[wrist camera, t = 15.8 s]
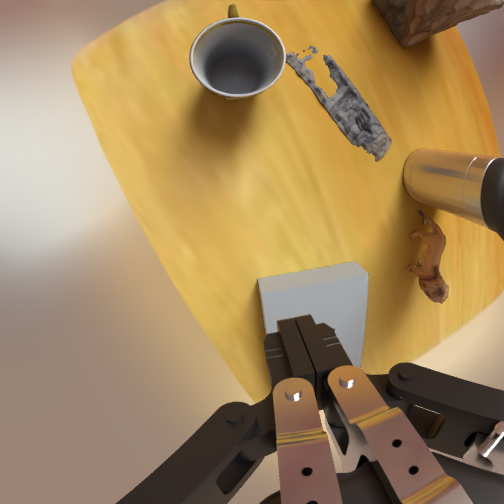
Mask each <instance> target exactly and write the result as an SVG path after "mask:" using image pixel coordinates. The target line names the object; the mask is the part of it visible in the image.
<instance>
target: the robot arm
mask: <svg viewBox="0 0 504 504" xmlns="http://www.w3.org/2000/svg"><path fill="white" fill-rule="evenodd" d="M403 178H404V184H405V187H406V190H407V192H408V194H409V195H410V196H411V197H412V198H413V199H414V200H416V201H418V202H421V203H423V204H426V205H429V206H432V207H434V208H437V209H440V210H443V211H445V212H448V213H451V214H453V215H456V216H459V217H461V218H464V219H466V220H469V221H471V222H474V223H476V224H479V225H481V226H484V227H486V228H488V229H491V230H492V231H495V232H497V233H498V235H499V236H500V237H501V238H502V239H503V241H504V158H499V157H493V156H486V155H478V154H471V153H463V152H454V151H443V150H433V149H418V150H416V151H414V152H413V153H412V154H411V155H410V156H409V157H408V159H407V161H406V163H405V167H404V175H403ZM277 330H278V332H274V333H269V334H267V335H266V337H265V340H264V348H265V354H266V361H267V367H268V372H269V377H270V382H271V387H272V390H271V392H270V394H269V395H268V396H267V397H266V398H265V399H264V400H262V401H260V402H258V403H256V404H254V405H251V406H250V405H248V404H246V403H243V402H231V403H227V404H225V405H223V406H221V407H220V408H219V409H218V410H217V411H216V412H215V413H214V414H213V415H212V416H211V417H210V418H209V419H208V420H207V421H206V422H205V423H204V424H203V425H202V426H201V427H200V428H199V429H198V430H197V431H196V432H195V433H194V434H193V435H192V436H191V437H190V438H189V439H188V440H187V441H186V442H185V443H184V444H183V445H182V446H181V447H180V448H179V449H178V450H177V451H176V452H175V453H173V454H172V455H171V456H170V457H169V458H168V459H167V460H166V461H165V462H164V463H163V464H161V465H160V466H159V467H158V468H157V469H156V470H155V471H154V472H153V473H151V474H150V475H149V476H148V477H147V478H146V479H145V480H144V481H142V482H141V483H140V484H139V485H138V486H136V487H135V488H134V489H133V490H132V491H131V492H129V493H128V494H127V495H126V496H125V497H123V498H122V499H121V500H120V501H118V502H117V503H116V504H227V503H228V502H229V501H230V500H231V498H232V497H233V496H234V495H235V494H236V493H237V492H238V491H239V489H240V488H241V487H242V486H243V484H244V483H245V482H246V481H247V480H248V478H249V477H250V476H251V475H252V473H253V472H254V471H255V470H256V468H257V467H258V466H259V465H260V463H261V462H262V461H263V459H264V457H265V456H267V455H269V454H272V453H274V452H276V451H277V456H278V467H279V480H280V490H279V491H277V492H275V493H273V494H271V495H270V496H268V497H267V498H265V499H264V500H263V501H262V502H260V503H259V504H504V391H503V390H499V389H495V388H491V387H488V386H484V385H481V384H477V383H474V382H470V381H467V380H463V379H460V378H457V377H453V376H450V375H447V374H443V373H440V372H437V371H434V370H431V369H428V368H425V367H421V366H418V365H416V364H412V363H399V364H397V365H395V366H393V367H392V368H391V369H390V371H389V374H382V375H369V374H365V373H364V372H363V371H362V370H361V369H360V368H358V367H355V366H353V364H352V362H351V361H350V359H349V357H348V355H347V353H346V352H345V350H344V348H343V346H342V344H341V343H340V341H339V339H338V337H337V336H336V334H335V332H334V330H333V328H331V327H330V326H328V325H327V324H325V323H320V324H316V323H315V321H314V319H313V317H312V315H311V314H308V315H303V316H298V317H294V318H288V319H282V320H277ZM415 405H417V406H420V407H423V408H425V409H423V408H420V407H417V406H415ZM426 409H428V410H431V411H428V410H426ZM319 410H324V413H325V425H326V428H327V430H328V432H329V434H330V436H331V439H332V441H333V443H334V445H335V447H336V449H337V452H338V454H339V456H340V458H341V461H342V467H343V472H344V473H336V471H335V466H334V461H333V457H332V453H331V448H330V444H329V440H328V436H327V434H326V432H324V431H323V428H322V423H321V419H320V415H319ZM432 411H434V412H437V413H440V414H437V413H434V412H432ZM429 448H431V449H435V450H437V451H440V452H443V453H446V454H449V455H452V456H455V457H459V458H462V459H463V460H464V463H463V462H460V461H457V460H454V459H451V458H449V457H446V456H443V455H441V454H438V453H435V452H431V451H430V450H429Z"/></svg>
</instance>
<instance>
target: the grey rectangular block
mask: <svg viewBox="0 0 504 504" xmlns="http://www.w3.org/2000/svg"><path fill="white" fill-rule="evenodd" d="M368 279H369V274H368V273H367V272H366V271H365V270H364V269H363V268H362V267H361V266H360V265H359V264H358V263H357V262H355V261H354V262H349V263H344V264H338V265H333V266H327V267H322V268H316V269H311V270H305V271H299V272H293V273H288V274H282V275H276V276H270V277H264V278H258V286H259V292H260V299H261V306H262V313H263V320H264V327H265V334H266V335H267V334H269V333H274V332H278V330H277V320H282V319H288V318H294V317H298V316H303V315H308V314H311V315H312V317H313V319H314V321H315V323H316V324H320V323H325V324H327V325H328V326H330V327H331V328H333V330H334V332H335V334H336V336H337V337H338V339H339V341H340V343H341V344H342V346H343V348H344V350H345V352H346V353H347V355H348V357H349V359H350V361H351V362H352V364H353V366H355V367H358V368H360V367H361V360H362V352H363V343H364V334H365V324H366V312H367V298H368Z"/></svg>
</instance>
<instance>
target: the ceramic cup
mask: <svg viewBox="0 0 504 504" xmlns="http://www.w3.org/2000/svg"><path fill="white" fill-rule="evenodd" d="M285 62H286V53H285V48H284V45H283V43H282V41H281V39H280V38H279V36H278V35H277V34H276V33H275V32H274V31H273V30H272V29H271V28H270V27H268V26H267V25H265V24H263V23H261V22H259V21H256V20H253V19H248V18H239V11H238V8H237V6H236V5H234V4H232V5H230V6H229V10H228V19H223V20H220V21H217V22H215V23H213V24H211V25H209V26H208V27H206V28H205V29H204V30H203V31H202V32H201V33H200V34H199V35H198V36H197V37H196V39H195V40H194V42H193V44H192V47H191V50H190V66H191V69H192V72H193V74H194V76H195V77H196V79H197V80H198V81H199V82H200V83H201V84H202V85H203V86H204V87H205V88H207V89H208V90H209V91H211V92H213V93H214V94H216V95H218V96H220V97H223V98H225V99H227V100H231V99H243V98H249V97H253V96H256V95H258V94H260V93H262V92H264V91H265V90H267V89H268V88H270V87H271V86H272V85H273V84H274V83H275V82H276V81H277V80H278V79H279V77H280V76H281V74H282V72H283V70H284V67H285Z"/></svg>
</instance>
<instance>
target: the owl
mask: <svg viewBox="0 0 504 504" xmlns="http://www.w3.org/2000/svg"><path fill="white" fill-rule="evenodd" d="M372 1H373V3H374V4H375V6H376V7H377V8H378V9H379V10H380V12H381V15H382V16H383V17H384V18H385V20H386V22H387V23H388V25H389V26H390V29H391V32H392V33H393V35H394V36H395V37H396V38H397V40H398V41H399V43H400V45H401V46H402V48H403V49H405V48H406V47H407V46H413V45H415V44H417V43H419V42H421V41H423V40H424V39H425V38H427V37H430V36H432V35H434V34H437V33H439V32H441V31H444V30H447V29H449V28H451V27H454V26H456V25H457V24H458V23H460V22H463V21H466V20H470V19H472V18H475V17H477V16H479V15H483V14H486V13H488V12H489V11H491V10H495V9H499V8H501V7H502V6H503V4H504V1H503V0H372Z"/></svg>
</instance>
